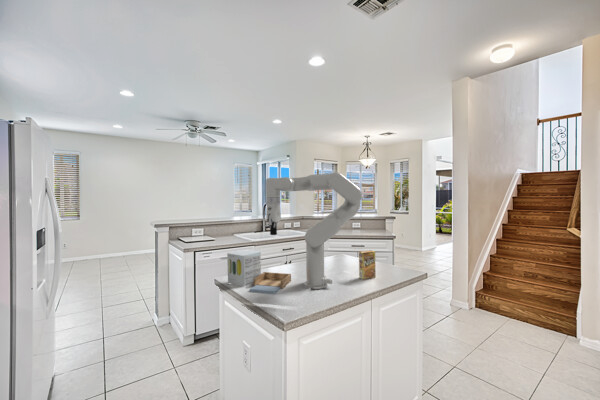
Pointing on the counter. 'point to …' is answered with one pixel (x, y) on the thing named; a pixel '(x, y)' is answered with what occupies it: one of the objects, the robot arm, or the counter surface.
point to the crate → (273, 279)
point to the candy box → (367, 264)
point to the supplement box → (243, 267)
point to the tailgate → (265, 289)
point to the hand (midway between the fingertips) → (273, 234)
